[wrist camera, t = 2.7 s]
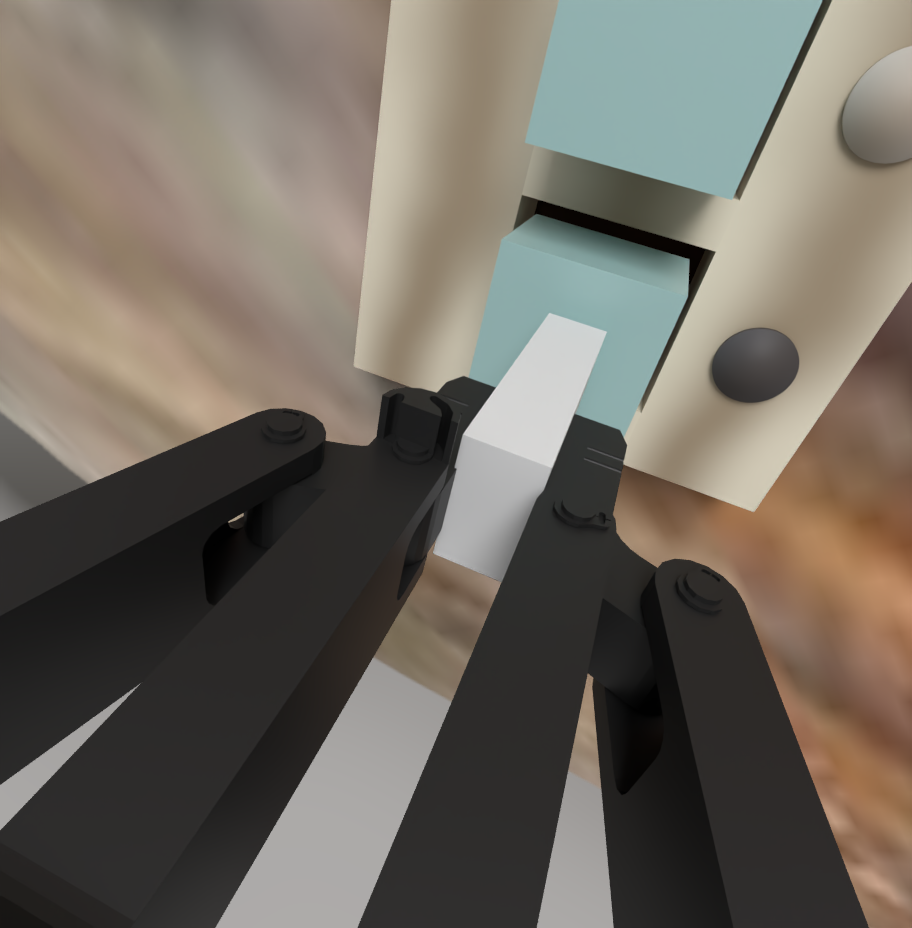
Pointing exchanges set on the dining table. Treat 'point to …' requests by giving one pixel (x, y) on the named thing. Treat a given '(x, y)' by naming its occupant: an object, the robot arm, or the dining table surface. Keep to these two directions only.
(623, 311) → the button
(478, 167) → the board
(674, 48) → the button
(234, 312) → the dining table surface
